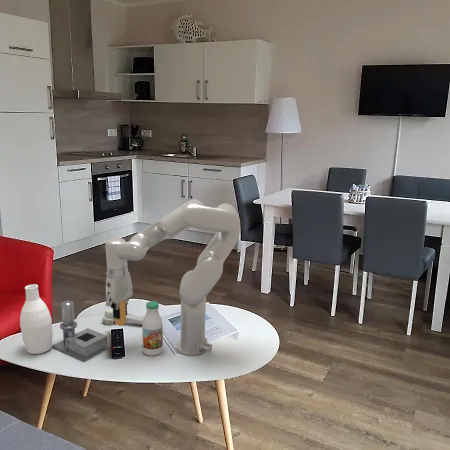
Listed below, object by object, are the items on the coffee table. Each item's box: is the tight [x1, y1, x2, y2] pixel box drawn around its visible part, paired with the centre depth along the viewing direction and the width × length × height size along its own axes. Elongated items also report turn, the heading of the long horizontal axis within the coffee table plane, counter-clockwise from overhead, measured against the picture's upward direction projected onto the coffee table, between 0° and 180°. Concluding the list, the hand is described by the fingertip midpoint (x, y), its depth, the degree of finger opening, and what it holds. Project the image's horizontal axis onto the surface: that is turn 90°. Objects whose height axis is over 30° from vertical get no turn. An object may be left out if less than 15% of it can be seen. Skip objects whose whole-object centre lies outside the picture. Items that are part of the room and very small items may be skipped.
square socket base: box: [51, 299, 111, 363], centre depth 176 cm, size 19×13×17 cm
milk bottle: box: [141, 300, 164, 357], centre depth 175 cm, size 8×8×20 cm
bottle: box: [19, 283, 54, 355], centre depth 172 cm, size 11×11×25 cm
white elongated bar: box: [101, 308, 145, 326], centre depth 198 cm, size 5×7×25 cm
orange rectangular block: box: [114, 300, 127, 327], centre depth 176 cm, size 3×3×12 cm
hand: (120, 315), depth 176 cm, fingers closed on orange rectangular block, 3 cm apart
